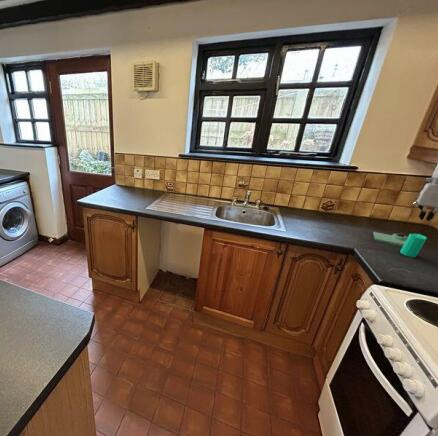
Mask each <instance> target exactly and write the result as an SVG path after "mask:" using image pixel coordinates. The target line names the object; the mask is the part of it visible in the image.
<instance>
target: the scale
mask: <svg viewBox="0 0 438 436" xmlns="http://www.w3.org/2000/svg"><path fill="white" fill-rule="evenodd" d="M372 234H373V239H374V241H376V242H381V243H385V244H387V245H388V244H389V245H393V246H398V247H401V248H402V247H403V245H404V243H405V242H406V240H407V238H408V235H407V236H406V235H405V236H404V237H400V236H397V234H398V233H392V234H386V233H382V232H377V231H373V232H372Z"/></svg>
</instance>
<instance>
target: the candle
mask: <svg viewBox="0 0 438 436" xmlns="http://www.w3.org/2000/svg"><path fill="white" fill-rule="evenodd" d="M407 237H408V238H407V240H406V242H405V243H404V245H403V247H402V246H401V249H400V251H399V253H400V254H402V255H404V256H406V257H410V258H416V257H417V256H418V254H419V252H420V251H421V249H422V247H423V246H424V244H425V242H426V241H427V239H428V237H427V236H425V235H422V234H420V232H419V233H409V235H407Z"/></svg>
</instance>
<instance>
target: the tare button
mask: <svg viewBox="0 0 438 436" xmlns="http://www.w3.org/2000/svg"><path fill="white" fill-rule="evenodd" d="M396 234H397V236H400V237H404V236H406V233H404V232H397V233H396Z"/></svg>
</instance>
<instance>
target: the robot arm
mask: <svg viewBox="0 0 438 436" xmlns="http://www.w3.org/2000/svg"><path fill="white" fill-rule="evenodd" d="M425 182H427V183H426V184H425V185H423V188H422V189H421V190H420V192H419V194H418V196H417V198H416V199H415V201H413V202H412V205H413V206H415V207H417V208H418V209H419V210H420V212H419V214H418V218H419V219H420V220H421V221H424V219H425V221H427V222H430V221H431V220H433V218H434V216H435V214H437V213H438V163H437V165H436V167H435V168H434V171H433V173H432V176H430V177H426V178H425ZM428 207H432V208H431V210H430V211H428V213H427V209H428ZM426 214H427V215H426Z"/></svg>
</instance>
